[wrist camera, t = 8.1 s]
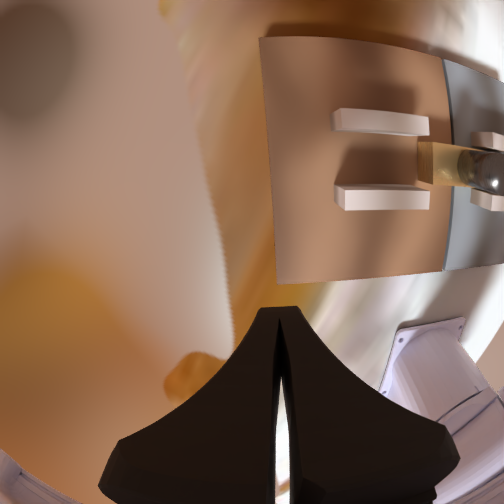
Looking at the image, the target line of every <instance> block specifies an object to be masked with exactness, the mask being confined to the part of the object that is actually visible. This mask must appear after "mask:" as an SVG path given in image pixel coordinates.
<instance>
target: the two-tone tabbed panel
mask: <svg viewBox="0 0 504 504" xmlns="http://www.w3.org/2000/svg"><path fill="white" fill-rule="evenodd" d="M259 47H260V57H261V67H262V77H263V87H264V98H265V110H266V121H267V133H268V146H269V159H270V173H271V187H272V202H273V218H274V235H275V253H276V273H277V284H295V283H312V282H327V281H341V280H354V279H367V278H378V277H389V276H400V275H410V274H420V273H430V272H439V271H442V269H443V270H444V271H448V270H456V269H464V268H472V267H480V266H487V265H495V264H502V263H504V196H500V195H497V194H494V193H491V192H488V191H485V190H482V189H478V188H471V187H459V186H446V185H432V184H429V183H425V182H422V181H418V146H417V142H437V143H443V144H450V145H456V146H461V147H467V148H472V149H477V150H482V151H486V152H494V153H501V154H504V83H503V82H501V81H499V80H497V79H494V78H492V77H490V76H488V75H485V74H483V73H481V72H478V71H476V70H474V69H471V68H468V67H466V66H463V65H460V64H458V63H455V62H452V61H449V60H446V59H443V60H441V58H439V57H436V56H433V55H429V54H426V53H422V52H418V51H414V50H410V49H406V48H401V47H396V46H391V45H386V44H381V43H374V42H368V41H361V40H352V39H342V38H330V37H308V36H282V37H260V38H259Z"/></svg>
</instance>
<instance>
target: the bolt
mask: <svg viewBox="0 0 504 504" xmlns="http://www.w3.org/2000/svg"><path fill="white" fill-rule="evenodd" d="M417 146H418V181H422V182H425V183H429V184H432V185H446V186H459V187H471V188H478V189H482V190H485V191H488V192H491V193H494V194H497V195H500V196H504V154H501V153H494V152H486V151H482V150H477V149H472V148H467V147H461V146H456V145H450V144H443V143H437V142H417Z"/></svg>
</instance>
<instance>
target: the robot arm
mask: <svg viewBox="0 0 504 504" xmlns="http://www.w3.org/2000/svg"><path fill="white" fill-rule="evenodd" d="M465 321H466V320H465V319H464V317H459V318H455V319H451V320H446V321H441V322H436V323H431V324H426V325H421V326H415V327H410V328H404V329H400V330H398V332H397V333H396V336H395V340H394V344H393V347H392V351H391V354H390V358H389V361H388V365H387V368H386V371H385V374H384V377H383V381H382V384H381V386H380V389H379V392H378V391H376V390H375V389H373V388H372V387H370V386H369V385H367V384H366V383H365V382H364V381H362V380H361V379H360V378H359V377H357V376H356V375H355V374H354V373H353V372H352V371H350V370H349V369H348V368H347V367H346V366H345V365H344V364H343V363H342V362H341V361H340V360H339V359H338V358H337V357H336V356H335V355H334V354H333V353H332V352H331V351H330V350H329V349H328V347H327V346H326V345H325V344H324V343H323V342H322V340H321V339H320V338H319V337H318V335H317V334H316V333H315V332H314V330H313V329H312V327H311V326H310V325H309V323H308V322H307V320H306V319H305V317H304V315H303V314H302V312H301V310H300V308H299V307H297V306H286V307H265V308H260V309H259V310H258V312H257V315H256V317H255V319H254V321H253V323H252V325H251V327H250V328H249V330H248V332H247V333H246V335H245V337H244V338H243V340H242V341H241V343H240V344H239V346H238V347H237V349H236V350H235V351H234V352H233V354H232V355H231V356H230V358H229V359H228V360H227V362H226V363H225V364H224V365H223V366H222V368H221V369H220V370H219V371H218V372H217V373H216V374H215V375H214V376H213V377H212V378H211V379H210V380H209V381H208V382H207V383H206V384H205V385H204V386H203V387H202V388H201V389H200V390H198V391H197V392H196V393H195V394H194V395H193V396H192V397H190V398H189V399H188V400H187V401H185V402H184V403H183V404H181V405H180V406H179V407H177V408H176V409H174V410H173V411H172V412H170V413H168V414H167V415H166V416H164V417H163V418H161V419H160V420H158V421H156V422H155V423H153V424H151V425H149V426H147V427H145V428H143V429H142V430H140V431H138V432H136V433H134V434H132V435H130V436H127V437H125V438H123V439H121V440H119V441H118V443H117V445H116V447H115V448H114V450H113V451H112V453H111V455H110V457H109V459H108V462H107V464H106V467H105V469H104V471H103V474H102V477H101V479H100V481H99V484H98V487H99V489H100V490H101V491H102V493H103V494H104V495H105V496H107V497H108V498H109V499H111V500H113V501H114V502H115V503H117V504H275V463H276V425H277V415H278V405H279V394H280V382H281V379H282V386H283V393H284V400H285V407H286V414H287V422H288V430H289V458H290V504H504V387H501V388H500V389H499V391H498V394H499V395H500V397H501V398H500V397H499V395H498V394H497V393H496V392H495V391H494V389H493V388H492V387H491V386H490V384H489V383H488V381H487V380H486V379H485V377H484V376H483V374H482V373H481V371H480V370H479V368H478V367H477V366H476V364H475V363H474V361H473V360H472V359H471V357H470V356H469V355H468V353H467V352H466V351H465V349H464V348H463V347H462V345H461V344H460V343H459V338H460V335H461V333H462V330H463V327H464V324H465ZM400 338H401V339H400ZM399 339H400V340H399ZM501 399H502V400H501ZM0 504H82V503H80V502H78V501H76V500H74V499H72V498H70V497H68V496H66V495H64V494H63V493H61V492H59V491H57V490H56V489H53V488H52V487H50V486H49V485H47V484H45V483H44V482H42V481H41V480H39V479H37V478H36V477H34V476H33V475H31V474H30V473H28V472H27V471H26V470H24V469H23V468H22V467H21V466H20V465H19V464H18V463H17V462H16V461H14V460H13V459H12V458H11V457H10V456H9V455H7V454H6V453H5V452H4V451H3V450H1V449H0Z"/></svg>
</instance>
